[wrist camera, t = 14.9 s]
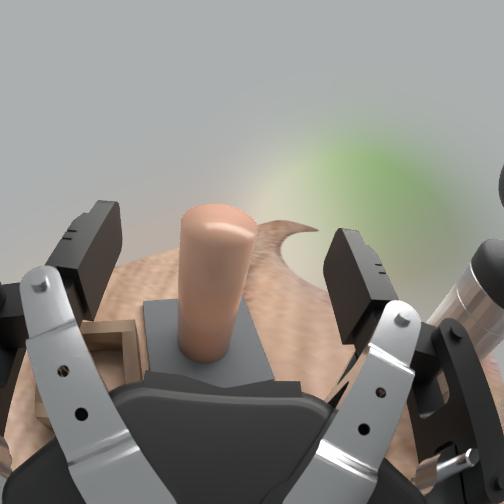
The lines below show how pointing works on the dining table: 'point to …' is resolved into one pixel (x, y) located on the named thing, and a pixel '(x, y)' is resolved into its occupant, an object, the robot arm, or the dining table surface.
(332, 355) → the dining table surface
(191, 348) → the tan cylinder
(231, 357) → the charcoal mat
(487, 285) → the robot arm
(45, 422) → the walnut collar
